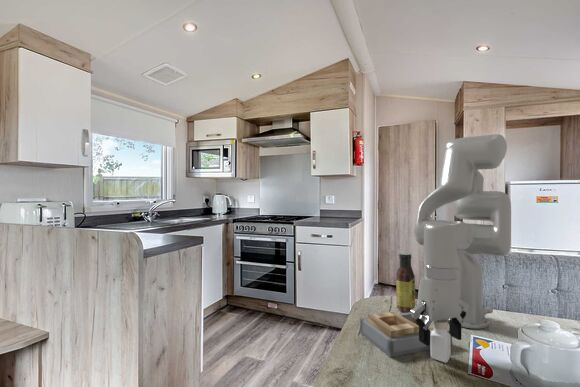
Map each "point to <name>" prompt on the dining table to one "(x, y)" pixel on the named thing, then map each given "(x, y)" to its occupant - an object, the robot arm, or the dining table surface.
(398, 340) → the tray
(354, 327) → the dining table surface
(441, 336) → the salt shaker
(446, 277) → the robot arm
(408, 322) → the shaker cabinet door
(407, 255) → the sauce bottle
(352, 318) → the dining table surface
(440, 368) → the dining table surface
